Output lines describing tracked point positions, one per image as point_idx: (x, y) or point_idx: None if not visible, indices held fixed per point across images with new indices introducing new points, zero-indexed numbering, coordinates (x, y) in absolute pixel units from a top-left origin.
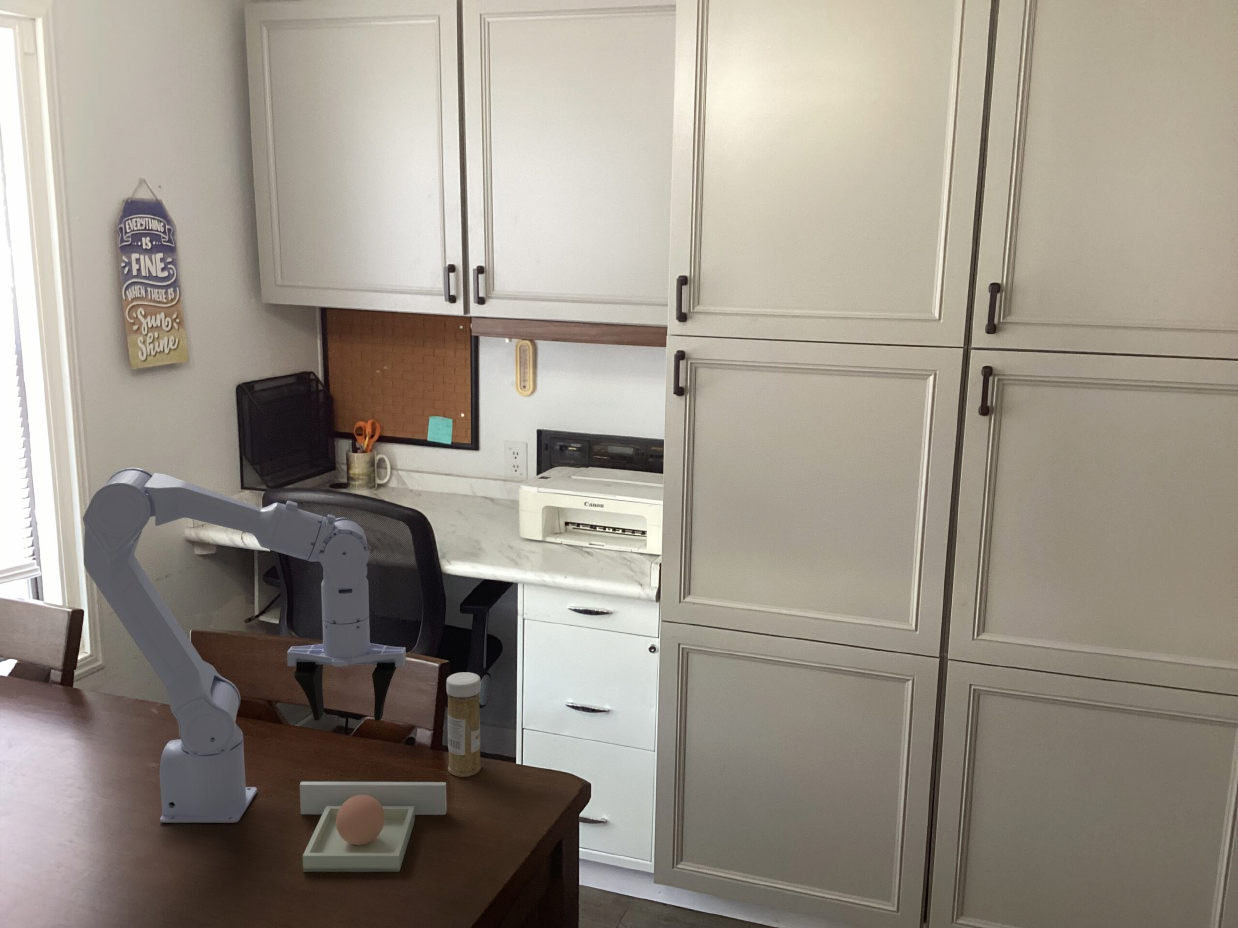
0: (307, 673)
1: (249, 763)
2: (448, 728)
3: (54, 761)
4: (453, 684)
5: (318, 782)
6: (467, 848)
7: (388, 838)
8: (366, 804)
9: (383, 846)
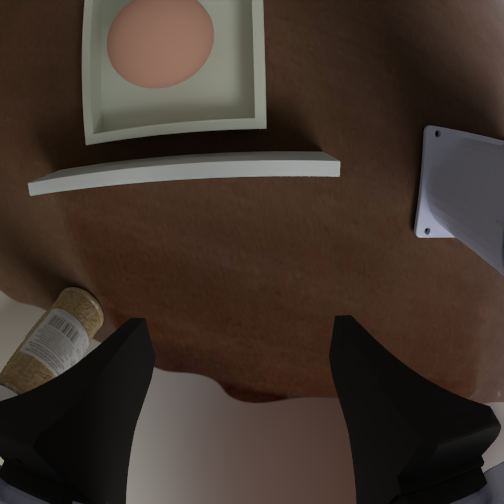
0: (447, 452)
1: (427, 315)
2: (64, 351)
3: None
4: None
5: (297, 171)
6: (19, 82)
7: None
8: (126, 16)
9: None
